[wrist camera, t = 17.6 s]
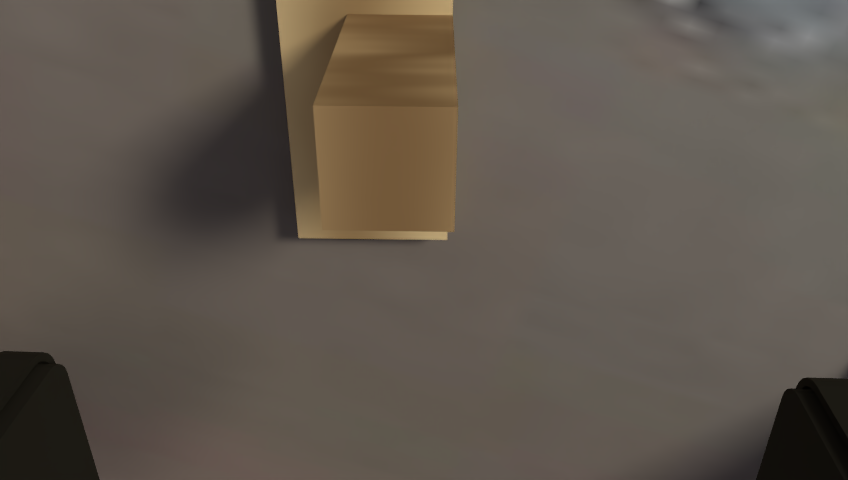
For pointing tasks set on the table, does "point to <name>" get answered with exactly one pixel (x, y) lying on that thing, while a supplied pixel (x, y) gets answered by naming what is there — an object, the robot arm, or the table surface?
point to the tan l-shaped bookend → (371, 116)
